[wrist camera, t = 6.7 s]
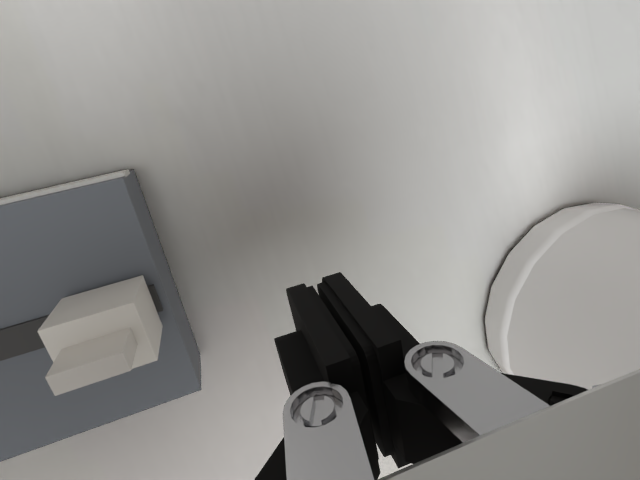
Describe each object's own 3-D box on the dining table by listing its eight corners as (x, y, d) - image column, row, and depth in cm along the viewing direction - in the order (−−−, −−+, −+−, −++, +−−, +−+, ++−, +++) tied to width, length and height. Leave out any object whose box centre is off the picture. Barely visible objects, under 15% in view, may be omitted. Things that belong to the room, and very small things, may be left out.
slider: (86, 350, 16) (52, 422, 12) (61, 298, 15) (17, 358, 11) (162, 326, 17) (153, 387, 13) (142, 275, 16) (126, 324, 12)
